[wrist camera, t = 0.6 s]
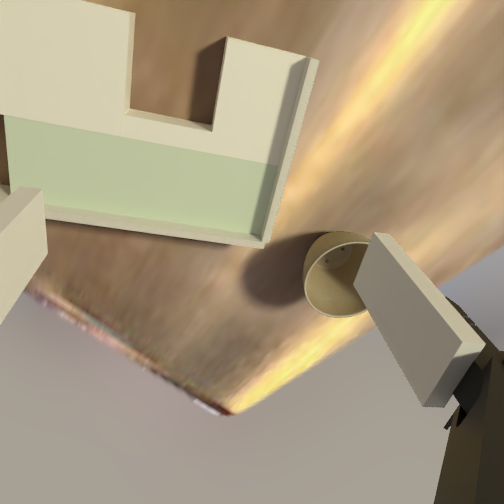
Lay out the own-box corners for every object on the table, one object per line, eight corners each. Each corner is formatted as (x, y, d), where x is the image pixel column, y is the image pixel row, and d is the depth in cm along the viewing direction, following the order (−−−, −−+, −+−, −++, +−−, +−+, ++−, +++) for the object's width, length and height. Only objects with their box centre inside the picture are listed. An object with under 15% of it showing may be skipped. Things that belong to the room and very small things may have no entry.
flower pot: (377, 264, 50) (402, 297, 44) (306, 292, 51) (320, 329, 45) (359, 199, 45) (383, 227, 39) (279, 233, 46) (291, 265, 40)
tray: (-223, -77, 28) (-290, -92, 24) (307, 56, 37) (319, 60, 33) (-151, 168, 37) (-191, 185, 33) (261, 230, 46) (267, 249, 42)
